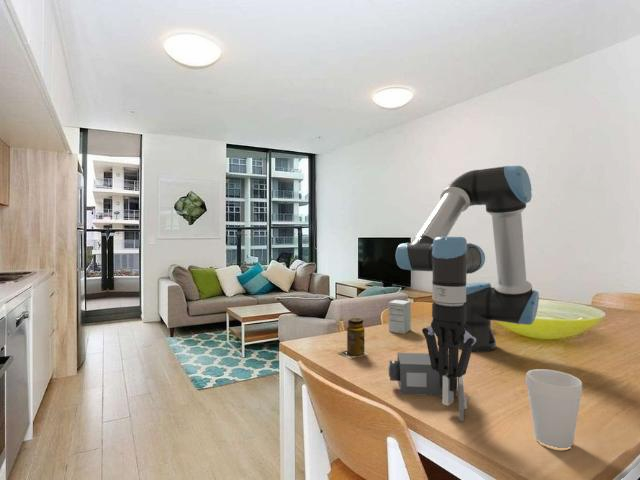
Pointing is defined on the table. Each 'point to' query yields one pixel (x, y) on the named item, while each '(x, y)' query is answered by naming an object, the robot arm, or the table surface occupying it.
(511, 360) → the table surface
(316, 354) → the table surface
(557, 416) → the foam cup
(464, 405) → the side door
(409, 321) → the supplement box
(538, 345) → the table surface
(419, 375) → the camera box
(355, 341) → the condiment
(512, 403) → the table surface
